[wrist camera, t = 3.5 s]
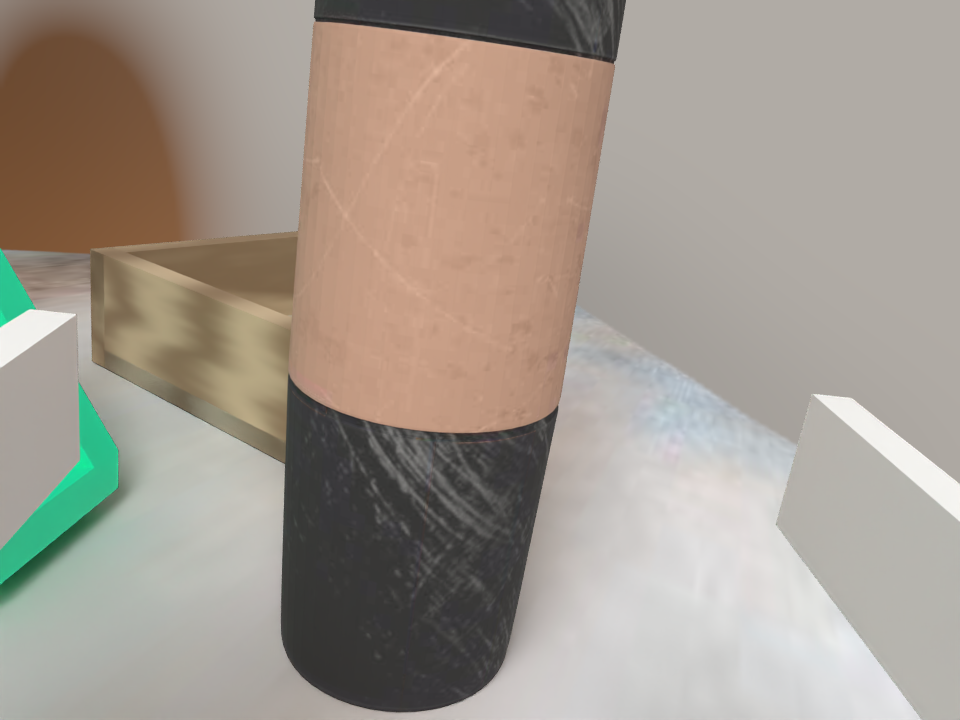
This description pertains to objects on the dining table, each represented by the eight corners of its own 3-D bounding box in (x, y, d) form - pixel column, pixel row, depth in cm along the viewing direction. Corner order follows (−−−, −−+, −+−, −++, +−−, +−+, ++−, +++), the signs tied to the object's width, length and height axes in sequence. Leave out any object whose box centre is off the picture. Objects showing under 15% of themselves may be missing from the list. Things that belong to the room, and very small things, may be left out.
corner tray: (92, 361, 44) (90, 249, 43) (339, 312, 59) (346, 227, 57) (333, 489, 35) (344, 352, 33) (559, 394, 49) (576, 294, 47)
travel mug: (537, 598, 29) (649, -24, 23) (480, 755, 22) (620, -81, 16) (334, 544, 31) (387, -54, 25) (222, 674, 24) (254, -117, 18)
